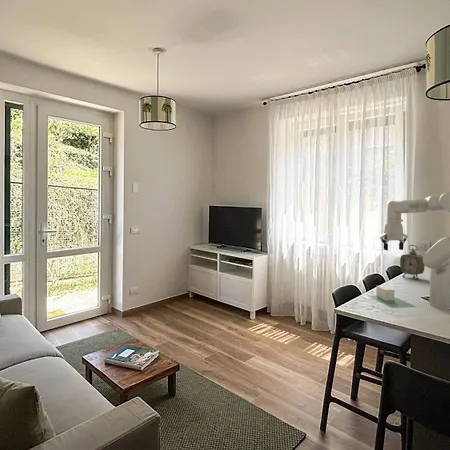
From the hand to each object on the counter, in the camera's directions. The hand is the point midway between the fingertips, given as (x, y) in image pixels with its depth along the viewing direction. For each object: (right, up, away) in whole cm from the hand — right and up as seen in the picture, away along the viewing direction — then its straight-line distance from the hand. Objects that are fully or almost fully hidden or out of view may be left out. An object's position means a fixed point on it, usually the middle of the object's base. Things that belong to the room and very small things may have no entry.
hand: (393, 249), depth 207 cm
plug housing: (-8, -28, -6) cm, 29 cm away
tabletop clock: (+39, -25, +50) cm, 69 cm away
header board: (-7, -29, -12) cm, 32 cm away
